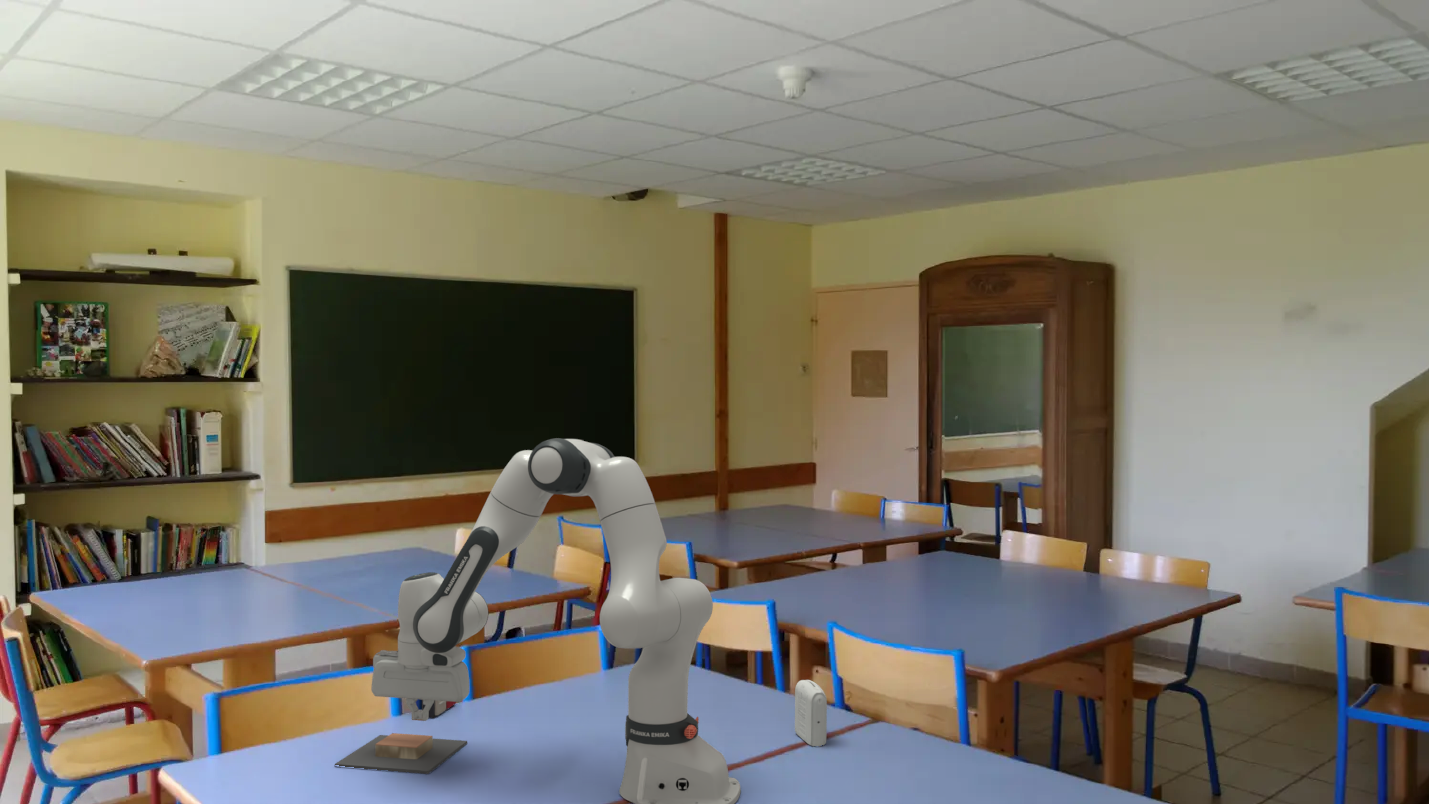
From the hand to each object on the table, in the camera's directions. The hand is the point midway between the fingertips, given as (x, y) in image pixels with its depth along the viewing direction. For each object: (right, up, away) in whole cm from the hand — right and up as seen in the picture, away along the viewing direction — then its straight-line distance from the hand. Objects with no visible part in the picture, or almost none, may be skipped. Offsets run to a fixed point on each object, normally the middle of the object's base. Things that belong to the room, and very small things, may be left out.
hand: (420, 719), depth 214 cm
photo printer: (+81, -8, +11) cm, 82 cm away
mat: (-4, -7, +1) cm, 8 cm away
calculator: (-4, -7, +30) cm, 31 cm away
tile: (+1, -6, 0) cm, 6 cm away
